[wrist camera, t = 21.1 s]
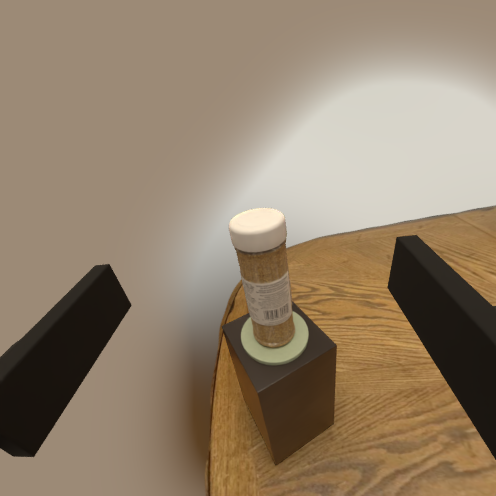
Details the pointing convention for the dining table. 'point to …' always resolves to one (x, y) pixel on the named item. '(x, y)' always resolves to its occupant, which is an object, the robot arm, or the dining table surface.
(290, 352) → the coaster
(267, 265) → the sprinkles bottle
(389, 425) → the dining table surface
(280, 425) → the riser
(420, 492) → the dining table surface
